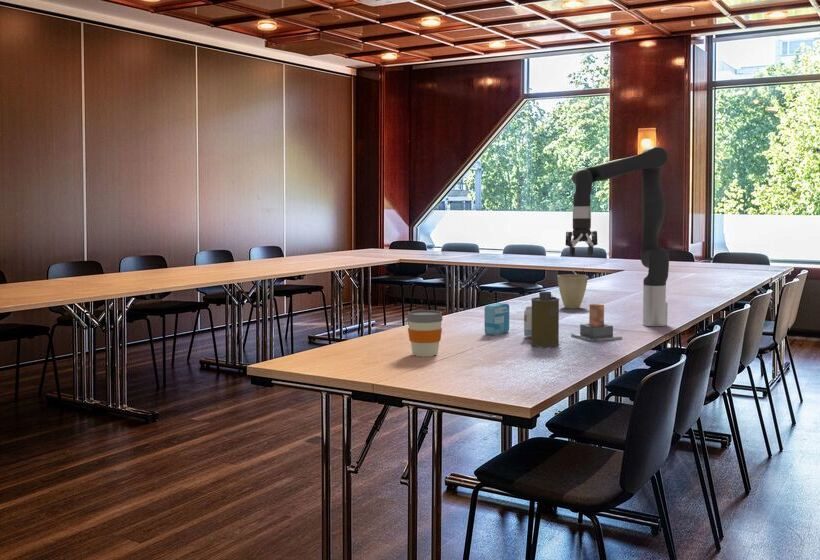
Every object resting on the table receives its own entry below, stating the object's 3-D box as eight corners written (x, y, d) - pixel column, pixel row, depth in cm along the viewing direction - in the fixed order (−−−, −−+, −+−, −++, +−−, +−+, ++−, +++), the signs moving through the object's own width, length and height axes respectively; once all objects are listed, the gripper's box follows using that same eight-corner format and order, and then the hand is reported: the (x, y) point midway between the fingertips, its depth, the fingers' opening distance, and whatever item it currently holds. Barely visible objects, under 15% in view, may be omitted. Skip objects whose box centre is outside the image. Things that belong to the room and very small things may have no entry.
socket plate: (601, 333, 336) (601, 321, 336) (622, 339, 323) (622, 326, 323) (571, 336, 331) (571, 323, 331) (591, 341, 318) (591, 328, 318)
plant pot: (557, 309, 409) (557, 277, 407) (556, 305, 423) (556, 274, 422) (588, 309, 407) (589, 277, 405) (586, 305, 421) (586, 274, 420)
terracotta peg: (597, 333, 330) (598, 303, 329) (603, 335, 326) (604, 304, 325) (589, 334, 328) (589, 304, 327) (595, 336, 325) (595, 305, 323)
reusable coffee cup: (420, 349, 306) (420, 309, 304) (449, 353, 299) (449, 311, 297) (400, 355, 296) (399, 313, 294) (430, 359, 288) (429, 315, 287)
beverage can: (541, 339, 325) (541, 308, 324) (523, 338, 327) (523, 308, 325) (542, 336, 332) (542, 306, 331) (524, 336, 333) (524, 306, 332)
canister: (549, 348, 305) (549, 294, 304) (525, 345, 313) (525, 292, 311) (565, 344, 313) (565, 291, 311) (541, 341, 320) (542, 289, 318)
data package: (493, 336, 334) (493, 306, 333) (484, 335, 337) (484, 305, 336) (509, 332, 343) (509, 303, 342) (500, 331, 346) (500, 302, 345)
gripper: (572, 217, 344) (571, 257, 346) (601, 217, 349) (600, 255, 351) (562, 217, 351) (562, 256, 353) (591, 216, 356) (590, 254, 358)
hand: (581, 255), depth 352 cm, fingers open, 8 cm apart
